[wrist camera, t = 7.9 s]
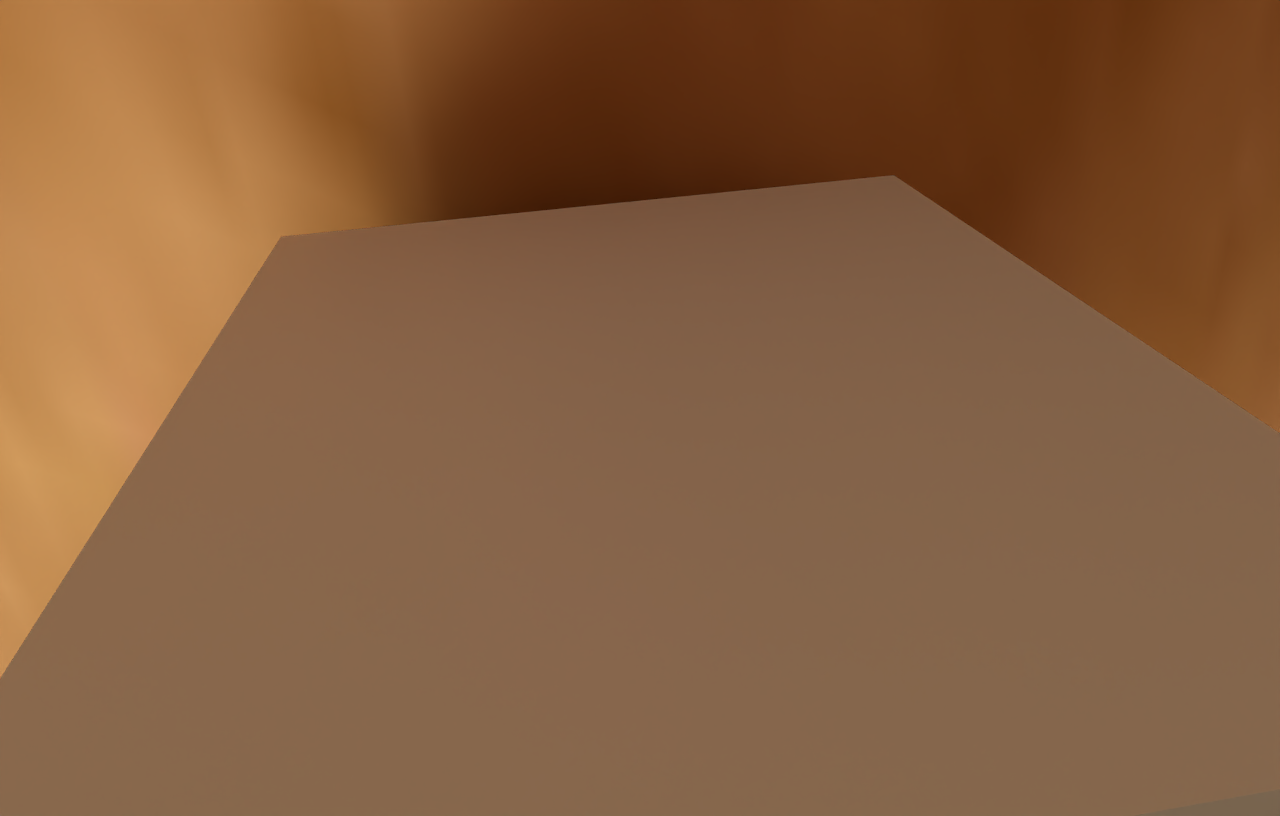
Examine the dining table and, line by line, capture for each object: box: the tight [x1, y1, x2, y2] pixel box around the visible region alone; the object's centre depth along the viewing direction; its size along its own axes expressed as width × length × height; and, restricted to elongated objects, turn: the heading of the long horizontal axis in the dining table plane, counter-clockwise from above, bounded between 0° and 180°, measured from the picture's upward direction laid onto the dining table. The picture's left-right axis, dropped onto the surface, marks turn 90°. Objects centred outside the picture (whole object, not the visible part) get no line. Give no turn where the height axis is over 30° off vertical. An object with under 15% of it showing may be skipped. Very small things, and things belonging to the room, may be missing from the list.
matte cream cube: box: [0, 175, 1280, 816], centre depth 9 cm, size 8×8×9 cm
